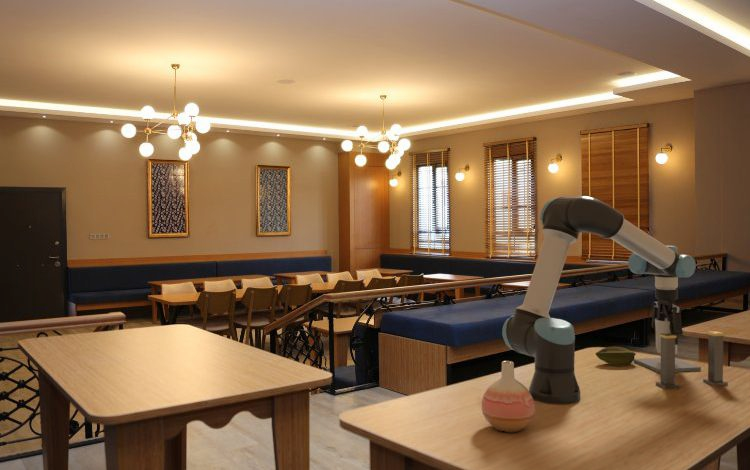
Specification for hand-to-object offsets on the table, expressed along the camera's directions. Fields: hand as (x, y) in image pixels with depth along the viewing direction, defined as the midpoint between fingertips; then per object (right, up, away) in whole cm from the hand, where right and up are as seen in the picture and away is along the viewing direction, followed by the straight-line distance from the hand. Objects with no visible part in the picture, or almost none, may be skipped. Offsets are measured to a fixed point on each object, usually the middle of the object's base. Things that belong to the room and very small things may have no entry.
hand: (666, 350), depth 228 cm
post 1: (-12, -7, -26) cm, 29 cm away
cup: (0, -1, 0) cm, 1 cm away
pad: (0, -6, 0) cm, 6 cm away
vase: (-71, -9, -63) cm, 96 cm away
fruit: (-17, -6, +4) cm, 18 cm away
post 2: (+5, -6, -23) cm, 25 cm away
